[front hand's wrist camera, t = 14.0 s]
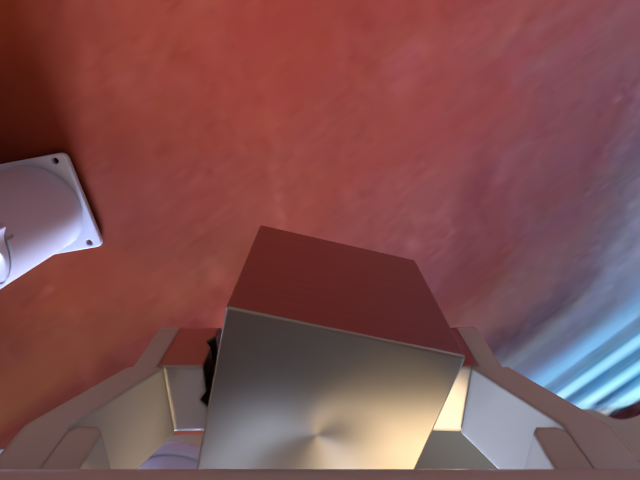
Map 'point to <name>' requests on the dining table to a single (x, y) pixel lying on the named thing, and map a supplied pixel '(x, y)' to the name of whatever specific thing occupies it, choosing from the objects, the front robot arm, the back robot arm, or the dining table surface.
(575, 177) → the dining table surface
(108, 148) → the dining table surface
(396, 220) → the dining table surface
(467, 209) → the dining table surface
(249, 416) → the block
